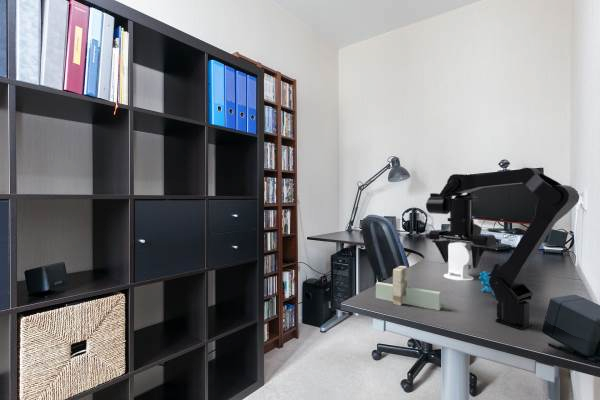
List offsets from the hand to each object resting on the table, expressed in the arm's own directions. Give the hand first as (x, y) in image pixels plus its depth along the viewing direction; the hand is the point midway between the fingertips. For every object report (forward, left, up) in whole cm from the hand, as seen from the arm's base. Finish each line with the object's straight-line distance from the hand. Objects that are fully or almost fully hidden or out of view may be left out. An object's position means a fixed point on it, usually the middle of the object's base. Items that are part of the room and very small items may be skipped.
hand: (460, 265), depth 97 cm
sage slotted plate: (+11, +11, -13) cm, 20 cm away
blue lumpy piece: (+1, -22, -13) cm, 26 cm away
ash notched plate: (+13, +12, -13) cm, 22 cm away
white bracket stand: (+21, -34, -13) cm, 42 cm away
